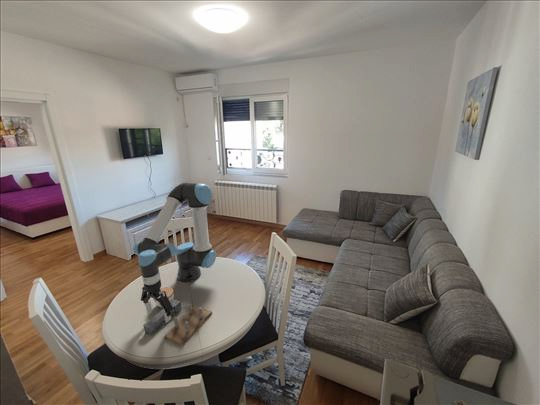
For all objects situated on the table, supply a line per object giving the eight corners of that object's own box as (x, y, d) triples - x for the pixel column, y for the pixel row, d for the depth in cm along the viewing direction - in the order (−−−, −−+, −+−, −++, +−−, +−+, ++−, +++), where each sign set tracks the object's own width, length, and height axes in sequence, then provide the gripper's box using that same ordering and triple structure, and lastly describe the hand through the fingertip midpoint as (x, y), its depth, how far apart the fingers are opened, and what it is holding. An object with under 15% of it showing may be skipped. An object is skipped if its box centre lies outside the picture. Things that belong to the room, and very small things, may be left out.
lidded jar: (153, 313, 132) (150, 299, 129) (156, 300, 142) (154, 286, 139) (174, 308, 135) (171, 294, 132) (176, 296, 145) (173, 283, 142)
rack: (196, 307, 135) (194, 296, 133) (212, 313, 131) (210, 302, 128) (165, 338, 116) (162, 325, 114) (182, 346, 112) (179, 333, 110)
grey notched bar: (175, 306, 137) (173, 299, 135) (181, 308, 135) (180, 301, 133) (144, 333, 120) (142, 325, 118) (151, 336, 118) (149, 328, 116)
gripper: (127, 279, 119) (135, 314, 126) (164, 292, 109) (171, 329, 115) (141, 271, 126) (148, 304, 132) (176, 282, 115) (182, 318, 122)
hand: (158, 316), depth 124 cm, fingers open, 13 cm apart
